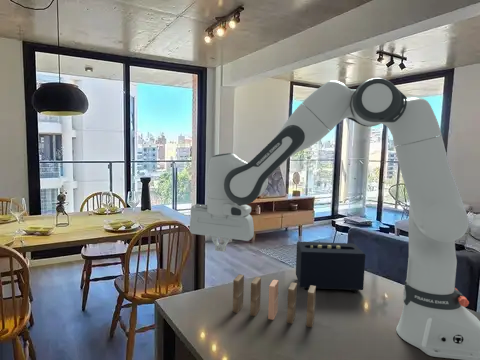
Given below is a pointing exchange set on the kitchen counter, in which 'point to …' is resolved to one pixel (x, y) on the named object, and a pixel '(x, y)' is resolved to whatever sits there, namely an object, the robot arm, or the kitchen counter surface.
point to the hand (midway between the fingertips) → (220, 250)
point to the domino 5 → (311, 306)
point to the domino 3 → (273, 299)
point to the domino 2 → (255, 296)
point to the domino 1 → (238, 293)
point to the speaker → (330, 265)
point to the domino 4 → (291, 302)
